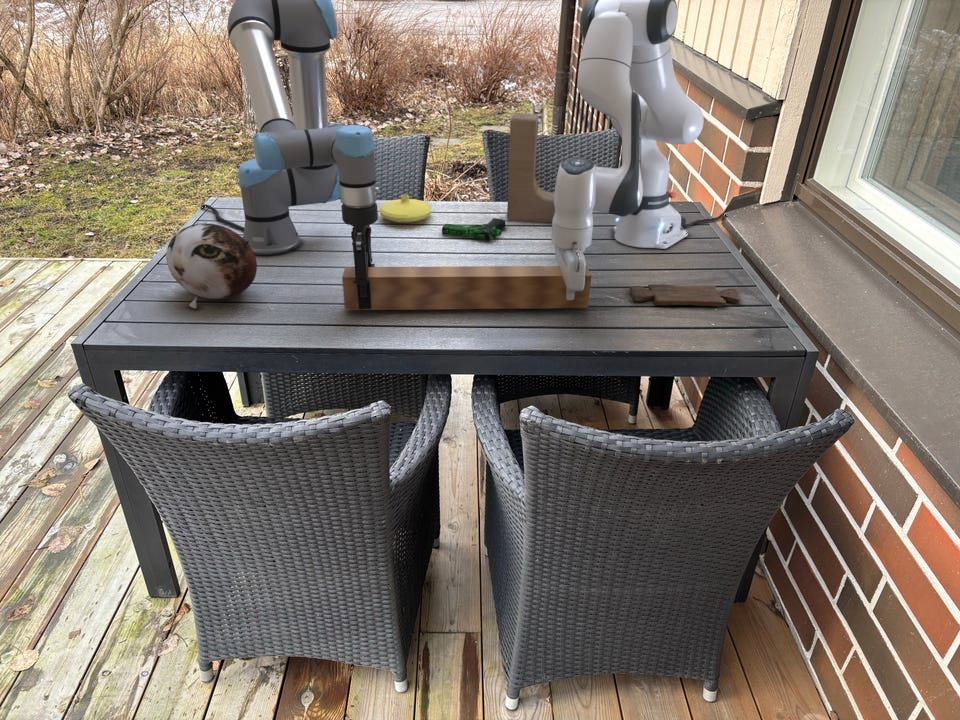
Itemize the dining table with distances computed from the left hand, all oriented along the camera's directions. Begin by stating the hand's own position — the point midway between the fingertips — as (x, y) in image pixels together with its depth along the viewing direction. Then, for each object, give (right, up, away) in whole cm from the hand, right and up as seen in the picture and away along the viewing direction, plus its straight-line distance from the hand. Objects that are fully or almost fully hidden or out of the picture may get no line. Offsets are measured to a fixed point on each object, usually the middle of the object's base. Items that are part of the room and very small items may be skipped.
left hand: (366, 301), depth 162 cm
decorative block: (+42, +30, +56) cm, 76 cm away
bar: (+23, 0, +2) cm, 23 cm away
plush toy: (-36, +2, +7) cm, 37 cm away
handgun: (+25, +24, +45) cm, 57 cm away
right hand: (+46, +2, +1) cm, 46 cm away
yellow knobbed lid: (+3, +29, +54) cm, 62 cm away
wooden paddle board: (+75, +2, +9) cm, 76 cm away
